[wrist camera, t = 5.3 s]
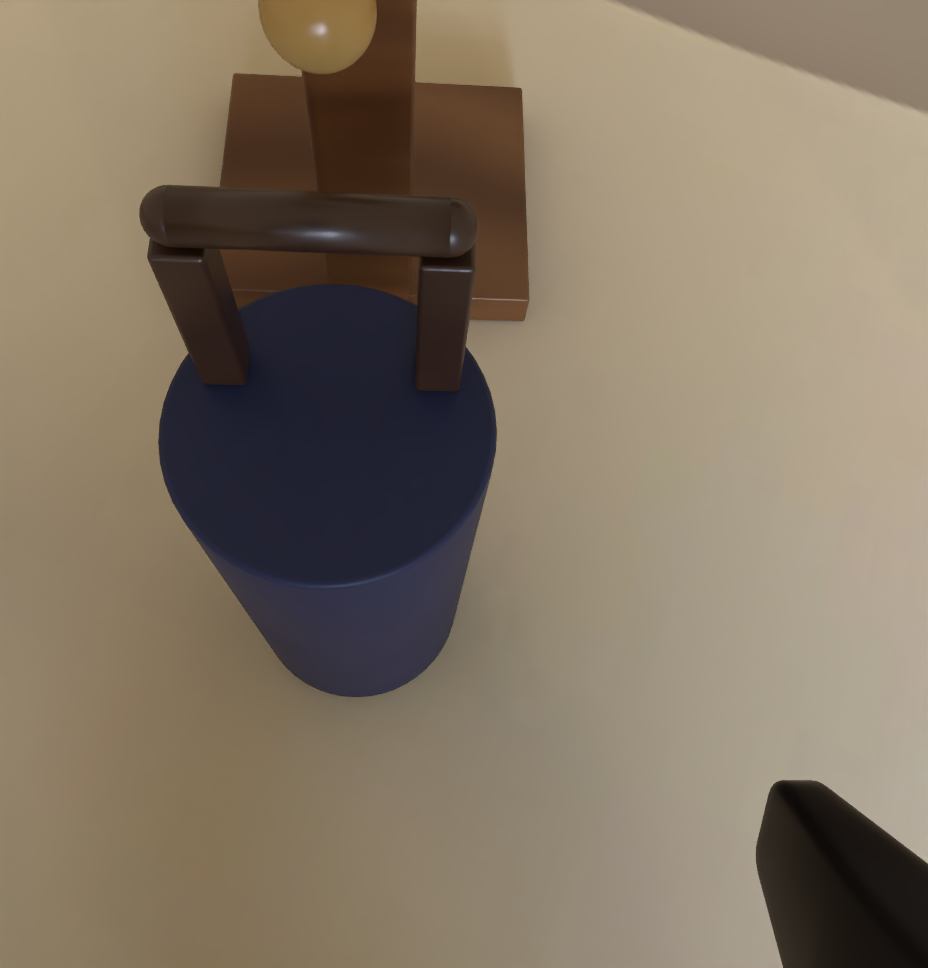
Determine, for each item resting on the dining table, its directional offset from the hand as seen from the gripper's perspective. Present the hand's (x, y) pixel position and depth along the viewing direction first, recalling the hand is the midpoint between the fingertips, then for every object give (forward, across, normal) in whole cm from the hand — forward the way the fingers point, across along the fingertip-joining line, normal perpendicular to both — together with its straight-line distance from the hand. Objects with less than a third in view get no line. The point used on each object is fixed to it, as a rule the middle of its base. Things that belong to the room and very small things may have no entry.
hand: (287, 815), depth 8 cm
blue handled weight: (+11, 0, +5) cm, 12 cm away
